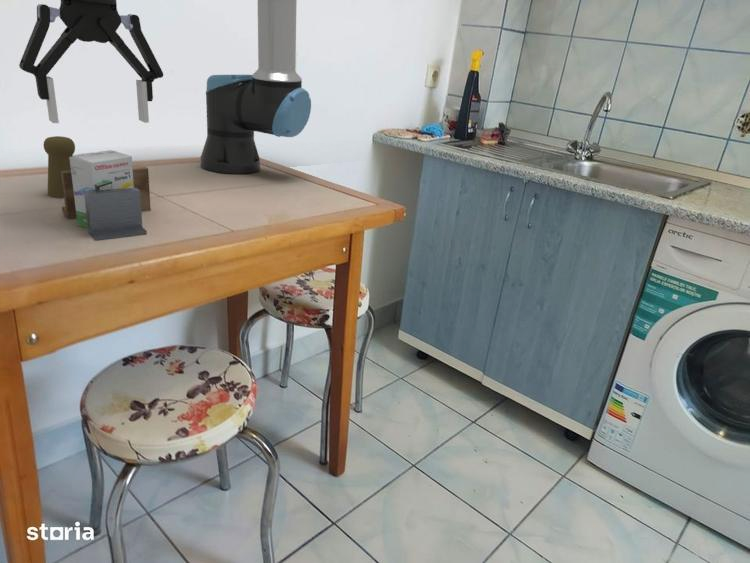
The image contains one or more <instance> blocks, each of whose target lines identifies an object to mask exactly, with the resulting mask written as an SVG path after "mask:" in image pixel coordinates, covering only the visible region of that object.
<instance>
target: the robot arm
mask: <svg viewBox="0 0 750 563" xmlns="http://www.w3.org/2000/svg"><path fill="white" fill-rule="evenodd" d="M297 3H298V2H297V0H257V53H258V54H257V56H258V57H257V58H258V59H257V61H258V62H257V63H258V65H257V67H258V68H257V70H255V72H254V73H252V74H212V75H210V76H208V78H207V80H206V91H205V96H206V97H205V100H206V102H205V103H206V132H207V133H206V135H207V136H206V138H205V141H204V145H203V148H202V151H201V155H200V167H201V168H202V169H204V170H206V171H210V172H217V173H220V174H222V173H223V174H232V175H233V174H236V175H238V174H252V173H256V172H258V171H260V170H261V159H260V156H259V152H258V149H257V146H256V143H255V142H256V141H255V132H258V133H263V134H269V135H272V136H275V137H278V138H279V137H286V138H294V137H297V136H298V135H300V133H302V131H303V130H304V129H305V126H307V123H308V122H309V119H310V116H311V112H312V111H311V110H312V99H311V97H310V94H309V92H308V91H307V90H306V89H305V88H302V80H303V79H302V77H301V76H300V75H299V74H298V72H297V71H296V65H297V64H296V63H297V61H296V58H297V56H296V55H297ZM58 17H59V19H60V20H61V21H62V22H63V24H64V25H65V26H66V28H65V29H64V30H63V31H62V32H61V34H60V36H59V37H58V39H57V40H56V41H55V43H54V44H53V45H52V46H51V47H50V49H49V50H48V51H47V52H46V54H45V55H44V56H43V57H42V59H41V60H40V61H39V63H38V64H37V65H35V63H36V61H37V58H38V56H39V53H40V50H41V49H42V45H43V43H44V41H45V39H46V36H47V34H48V30H49V28H50V24H51V23H55V21H56V18H58ZM121 24H122V25H123V26H124V29H126V30H128V31H129V34H130V35H131V36H130V37H131V38H132V40H133V42H134V44H135V45H136V47H137V49H138V51H139V53H140V55H141V57H142V59H143V61H144V62H145V63H144V64H146V66H147V67H146V66H144V64H143V63H142V62H141V61H140V60H139V59H138V58H139V57H137V56H136V55H135V54H134V52H133V51H132V50H131V49H130V48H129V47H128V45H127V44H126V42H125V41H124V40H123V38H122V37H121V36H120V35H119V33H117V30H118V29H119V27H120V26H121ZM76 40H79V41H80V42H81V41H82V42H84V43H85V42H87V43H88V42H90V43H91V42H96V43H100V44H107V43H108V42H109V43H110V45H112V46H113V47H114V49H115V50H116V51H117V52H118V53H119V55H121V56H122V58H123V59H124V60H125V62H127V64H128V65H129V66H130V67H131V68H132V69H133V70H134V72H135V73H136V74H137V75H138V77H139V78H140V79H136V80H135V82H136V83H135V84H136V95H137V97H136V98H137V99H136V100H137V111H138V113H137V114H138V120H139V121H141V122H143V123H145V124H147V123H150V119H149V102H153V99H154V96H153V91H154V90H153V82H154V81H155V80H157V79H159V78H160V79H161V78H163V77H164V72H163V70H162V67H161V66H160V64H159V62H158V60H157V58H156V56H155V55H154V52H153V50H152V49H151V47H150V44H149V43H148V41H147V39H146V37H145V35H144V33H143V31H142V26H141V21H140V17H139V15H137V14H132V13H129V14H127V15H123V14H122V15H120V13H119V12H118V8H117V0H60V6H59V8H57V7H52V6H48V4H43V3H39V4H38V5H37V6H36V22H35V24H34V27H33V29H32V32H31V34H30V37H29V39H28V42H27V44H26V46H25V49H24V52H23V54H22V57H21V58H20V61H19V64H18V66H19V68H20V69H21V70H22V71H24V72H26V73H29V74H32V75H33V76H34V78H35V83H36V90H37V95H38V97H39V99H40V100H42V101H43V100H46V107H47V113H48V121H50V122H51V123H52V124H59V123H60V122H59V114H58V105H57V99H56V92H55V84H54V78H53V77H51V76H50V75H49V73H50V72H51V70H52V69H53V68H54V67H55V65H57V63H58V62H59V61H60V59H61V58H62V57H63V55H65V53H66V52H67V50H69V48H70V47H71V46H72V44H74V43H75V42H76ZM48 75H49V76H48Z"/></svg>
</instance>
